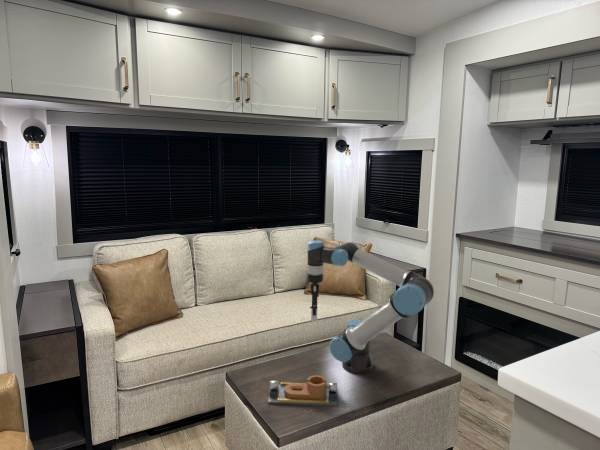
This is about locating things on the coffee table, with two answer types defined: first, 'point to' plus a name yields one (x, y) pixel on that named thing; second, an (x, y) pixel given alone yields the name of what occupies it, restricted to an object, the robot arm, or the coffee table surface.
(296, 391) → the bracket
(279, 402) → the coupling bench
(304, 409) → the coffee table surface
